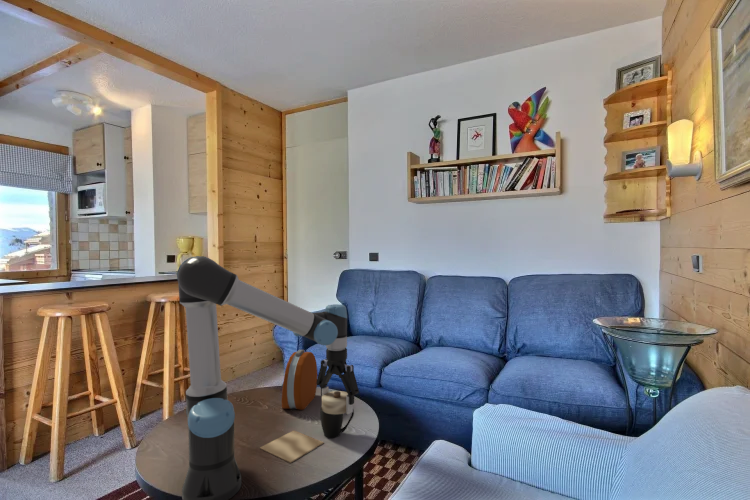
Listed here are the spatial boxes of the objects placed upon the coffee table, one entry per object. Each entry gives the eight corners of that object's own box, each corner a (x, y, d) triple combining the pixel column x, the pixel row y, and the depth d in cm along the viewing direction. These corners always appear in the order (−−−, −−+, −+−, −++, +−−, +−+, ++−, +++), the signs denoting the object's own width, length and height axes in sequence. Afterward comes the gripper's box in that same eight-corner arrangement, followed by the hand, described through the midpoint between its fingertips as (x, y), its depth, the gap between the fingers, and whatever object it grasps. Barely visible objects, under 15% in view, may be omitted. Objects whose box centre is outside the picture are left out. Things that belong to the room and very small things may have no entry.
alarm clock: (297, 392, 179) (297, 343, 179) (317, 393, 177) (317, 344, 177) (277, 412, 157) (276, 357, 157) (300, 413, 155) (299, 358, 155)
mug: (354, 439, 134) (354, 411, 134) (319, 440, 133) (319, 413, 133) (353, 428, 143) (353, 402, 143) (321, 429, 141) (320, 404, 141)
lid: (338, 417, 130) (338, 400, 130) (315, 409, 137) (315, 393, 137) (358, 406, 139) (358, 391, 139) (336, 399, 146) (336, 385, 146)
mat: (290, 463, 119) (290, 462, 119) (259, 448, 128) (259, 447, 128) (323, 443, 132) (323, 442, 132) (293, 431, 140) (293, 430, 140)
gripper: (368, 350, 134) (369, 413, 134) (320, 341, 148) (320, 398, 148) (355, 355, 128) (355, 421, 128) (306, 345, 142) (306, 404, 142)
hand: (337, 409), depth 138 cm, fingers closed on lid, 11 cm apart
